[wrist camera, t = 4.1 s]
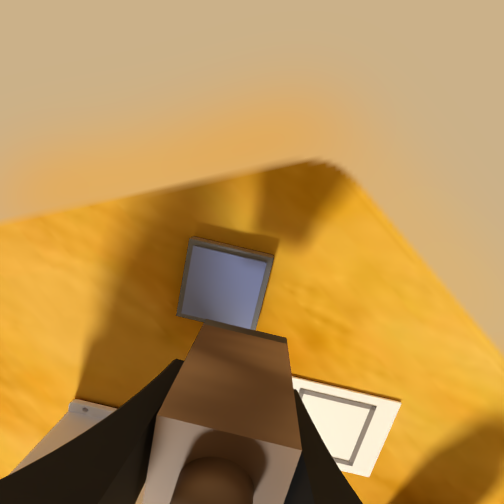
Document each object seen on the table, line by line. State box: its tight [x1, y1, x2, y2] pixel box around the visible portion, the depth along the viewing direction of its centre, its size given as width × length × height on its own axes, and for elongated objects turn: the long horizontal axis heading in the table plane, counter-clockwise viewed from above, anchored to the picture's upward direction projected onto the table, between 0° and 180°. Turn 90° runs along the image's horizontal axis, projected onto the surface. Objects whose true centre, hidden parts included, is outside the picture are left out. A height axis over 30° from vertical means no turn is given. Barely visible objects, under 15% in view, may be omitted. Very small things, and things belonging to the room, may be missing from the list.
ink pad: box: [176, 236, 274, 330], centre depth 18 cm, size 6×6×1 cm
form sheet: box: [292, 376, 401, 477], centre depth 20 cm, size 10×8×1 cm
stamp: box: [142, 319, 302, 504], centre depth 9 cm, size 4×4×6 cm
